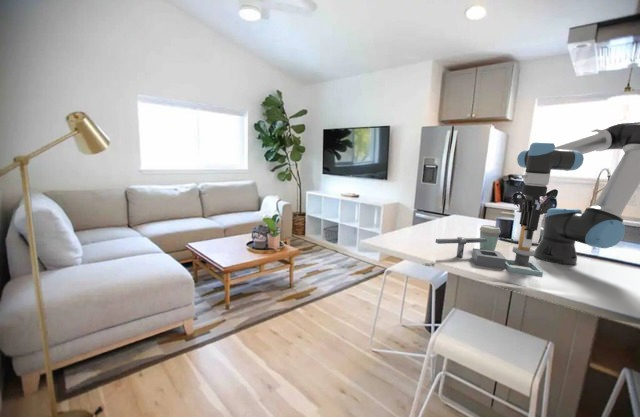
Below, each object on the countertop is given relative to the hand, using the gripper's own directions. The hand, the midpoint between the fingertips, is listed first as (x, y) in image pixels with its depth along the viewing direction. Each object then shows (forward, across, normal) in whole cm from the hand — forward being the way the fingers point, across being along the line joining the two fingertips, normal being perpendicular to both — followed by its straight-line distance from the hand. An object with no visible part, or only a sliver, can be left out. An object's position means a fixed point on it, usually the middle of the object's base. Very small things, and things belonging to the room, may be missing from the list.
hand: (524, 245), depth 116 cm
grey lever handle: (+11, -5, -21) cm, 24 cm away
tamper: (+8, 0, 0) cm, 8 cm away
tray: (+10, 0, 0) cm, 10 cm away
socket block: (+11, -2, -15) cm, 18 cm away
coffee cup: (+11, -23, -7) cm, 26 cm away
